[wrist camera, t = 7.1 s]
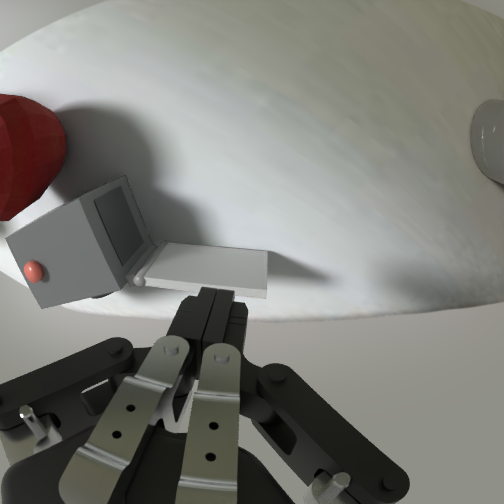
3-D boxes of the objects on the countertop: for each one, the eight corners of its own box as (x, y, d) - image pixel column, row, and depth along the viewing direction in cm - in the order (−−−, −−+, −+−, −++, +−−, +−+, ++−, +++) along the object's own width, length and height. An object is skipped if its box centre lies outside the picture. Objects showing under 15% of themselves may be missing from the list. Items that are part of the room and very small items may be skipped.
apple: (34, 209, 29) (-43, 257, 17) (5, 126, 25) (-78, 148, 13) (104, 169, 27) (14, 210, 15) (71, 72, 23) (-24, 67, 11)
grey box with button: (132, 172, 27) (81, 197, 19) (165, 253, 31) (131, 304, 22) (52, 209, 29) (0, 241, 21) (83, 277, 33) (42, 322, 24)
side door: (266, 261, 30) (265, 302, 23) (160, 251, 30) (134, 287, 24) (267, 250, 29) (267, 289, 23) (160, 240, 30) (132, 275, 23)
